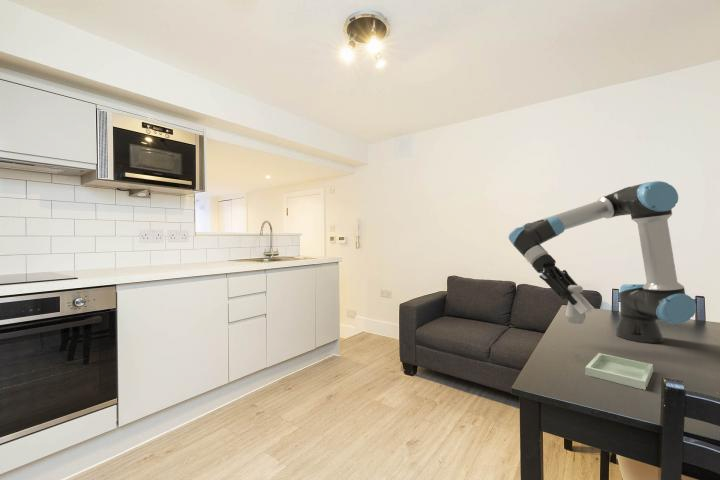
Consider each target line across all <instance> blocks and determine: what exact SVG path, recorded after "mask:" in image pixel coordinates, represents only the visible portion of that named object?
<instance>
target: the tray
mask: <svg viewBox="0 0 720 480" xmlns="http://www.w3.org/2000/svg"><path fill="white" fill-rule="evenodd" d="M584 370H585V373H584V375H585V376H589V377H592V378H597V379H601V380H604V381H608V382H613V383H615V384H616V383H617V384H619V385H624V386H628V387H631V388H636V389H639V390H642V389H643V390H642V391H646V389H647V388H648V385H649V382H650V380H651V378H652V375H653V373H654V364H652V363H648V362H644V361H638V360H633V359H629V358H625V357H620V356H616V355H615V356H614V355H611V354H604V353H601V352H598V353H597V354H596V355H595V356H594V357H593V358H592V359H591V361H590V362H588V363H587V364H586V366H585V369H584ZM646 387H647V388H646Z"/></svg>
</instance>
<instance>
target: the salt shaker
mask: <svg viewBox="0 0 720 480" xmlns="http://www.w3.org/2000/svg"><path fill="white" fill-rule="evenodd" d="M583 289H584V288H583V286H582V285H579V284H577V285H569V286H568V290H569V291H570V293H571V294H574V295H575V296H576V297H577V298H578V299H579V300H580V301H581V302H582V297H581V295H582V294H581V293H583ZM571 294H570V295H571ZM582 304H583V302H582ZM564 315H565V317H566V318H567V321H568V323H570V324H573V325H574V324H575V325H582V324H584V322H585V320H586V317H587V316H586V311H585V312H584V313H583V314H580V313H579V312H578V311H577V310H576V309H575V307H574V306H573V305H572V304H571V303H570V302H569V301H568V300H567V305H566V311H565V314H564Z"/></svg>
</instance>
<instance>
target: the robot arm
mask: <svg viewBox="0 0 720 480" xmlns="http://www.w3.org/2000/svg"><path fill="white" fill-rule="evenodd" d="M678 202H679V194H678V191H677V189H676V188H675V186H673V185H672V184H669V183H668V182H665V181H659V180H655V181H647V182H643V183H640V184H636V185H632V186H627V187H624V188H621V189H620V190H619V189H618V190H617V191H615V192H612V193H609V194H607V195H605V196H602V197H599V198H598V199H597V200H596V201H594V202H589V203H588V204H584V205H581V206H578V207H576V208H572V209H569V210H566V211H563V212H560V213H557V214H553V215H551V216H547V217H545V218H541V219H539V220H536V221H533V222H527V223H525V224H523V225H522V226H519V227H516V228H514V229H512V230H511V232H510V233H509V234H508V240H509V241H510V243H511V244H512V246H513V247H514V248H515V249H516V250H517V251H518V252H519V253H520V254H521V255H522V256H523V258H525V260H526V261H527V263H528V264H529V265H531V266H532V268H533V269H534V271H536V273H537V274H540V275H538V277H539V278H540V280H542V281H544V282H545V283H546V285H548V286H549V288H551V289H552V291H553V292H554V293H555V294H556V295H558V297H560V298H561V299H562V300H565V299H566V300H567V302H568V301H569V302H570V303H571V304H572V305H573V306H574V307H575V309H576V310H577V311H578V312H579V313H580V314H583V313H584V312H585V313H587V314H589V313H590V312H592V311H593V310H594V309H595V307H594V306H593V305H592V304H591V303H590V302H589V301H588V300H587V299H586V297H584V295H583V294H581V297H582V302H583V304H582V302H581V301H580V300H579V299H578V298H577V297H576V296H575V295H574V294H571V293H570V291H569V290H568V286H569V285H578V284H577V283H576V281H575V280H574V279H573V278H572V276H570V275H569V273H568V272H567V270H566V269H563V270H560V268H558V267H557V266H556V263H557V262H556V259H554V257H553V256H552V255H550V254H549V252H548V251H547V250H546V249H545V248H544V247H543V246H542V244H544V243H545V242H548V241H550V240H552V239H553V238H555V237H559V236H560V235H561V234H563V233H564V232H565V231H566V230H570V229H571V228H575V227H578V226H581V225H584V224H588V223H590V222H593V221H597V220H601V219H603V218H604V219H611V218H616V217H620V216H628V215H630V217H631V220H632V221H634V222H635V223H637V229H638V235H639V240H640V241H639V242H640V247H641V253H642V260H643V266H644V273H645V279H646V283H644V284H636V283H635V284H627V283H625V284H622V285H620V287H619V297H620V298H619V299H620V300H619V302H620V304H619V305H620V306H619V307H620V318H619V320H618V324H617V327H616V328H615V335H616V336H617V337H619V338H622V339H625V340H629V341H633V342H638V343H645V344H646V343H647V344H649V343H650V344H658V343H663V342H664V335H663V334H662V333H661V332H662V331H661V329H660V326H659V324H658V321H661V322H662V323H669V324H675V325H679V324H684V323H686V322H688V321H690V320H691V318H693V317H694V316H695V314H696V312H697V303H696V301H695V300H694V299H693V298H692V297H691V296H689V295H688V294H686V291H685V286H684V285H682V284H681V283H680V282H678V276H677V272H676V266H675V260H674V259H675V258H674V253H673V252H674V251H673V245H672V241H671V236H670V235H671V234H670V229H669V222H668V219H670V217H672V215H673V211H672V209H673V208H675V207H676V204H678ZM570 294H571V295H570Z"/></svg>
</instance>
